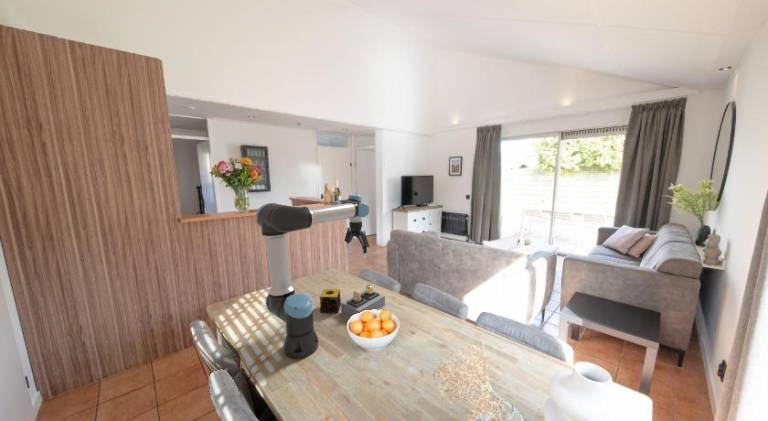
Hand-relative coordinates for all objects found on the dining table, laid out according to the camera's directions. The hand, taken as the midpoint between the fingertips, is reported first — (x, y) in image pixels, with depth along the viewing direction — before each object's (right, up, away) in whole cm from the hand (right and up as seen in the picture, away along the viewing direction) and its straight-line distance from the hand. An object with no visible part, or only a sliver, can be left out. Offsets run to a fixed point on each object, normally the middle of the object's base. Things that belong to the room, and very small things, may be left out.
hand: (356, 255), depth 164 cm
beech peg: (+2, -25, -13) cm, 28 cm away
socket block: (+5, -29, -8) cm, 31 cm away
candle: (-14, -30, -7) cm, 33 cm away
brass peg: (+8, -23, -5) cm, 25 cm away
